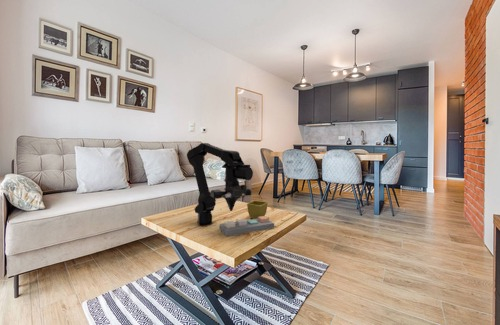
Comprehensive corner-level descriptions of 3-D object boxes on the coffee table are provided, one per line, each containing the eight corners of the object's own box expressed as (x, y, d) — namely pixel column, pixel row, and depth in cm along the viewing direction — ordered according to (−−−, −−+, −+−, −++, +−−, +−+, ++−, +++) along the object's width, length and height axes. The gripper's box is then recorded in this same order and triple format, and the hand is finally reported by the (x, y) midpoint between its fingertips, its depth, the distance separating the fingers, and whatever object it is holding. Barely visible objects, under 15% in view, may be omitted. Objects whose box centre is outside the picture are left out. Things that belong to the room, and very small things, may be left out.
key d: (261, 225, 112) (261, 219, 112) (257, 222, 116) (257, 216, 116) (268, 224, 114) (268, 218, 114) (264, 221, 118) (264, 215, 117)
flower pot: (260, 222, 121) (260, 205, 121) (246, 219, 126) (246, 203, 125) (267, 217, 129) (268, 202, 128) (254, 215, 133) (254, 200, 133)
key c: (250, 229, 110) (250, 223, 110) (247, 226, 113) (247, 220, 113) (257, 228, 112) (258, 222, 111) (254, 225, 115) (254, 219, 115)
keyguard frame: (226, 236, 101) (226, 230, 101) (219, 228, 110) (219, 223, 110) (274, 228, 112) (274, 223, 112) (264, 222, 121) (264, 217, 121)
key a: (227, 230, 104) (227, 224, 104) (224, 227, 108) (224, 221, 108) (235, 229, 106) (235, 222, 106) (232, 226, 110) (232, 220, 110)
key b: (239, 228, 107) (239, 222, 107) (236, 225, 111) (236, 219, 110) (246, 227, 109) (247, 221, 109) (243, 224, 112) (243, 218, 112)
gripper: (218, 181, 94) (217, 218, 96) (257, 179, 103) (256, 213, 104) (210, 178, 104) (209, 211, 105) (246, 176, 113) (245, 207, 114)
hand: (231, 210), depth 107 cm, fingers closed
